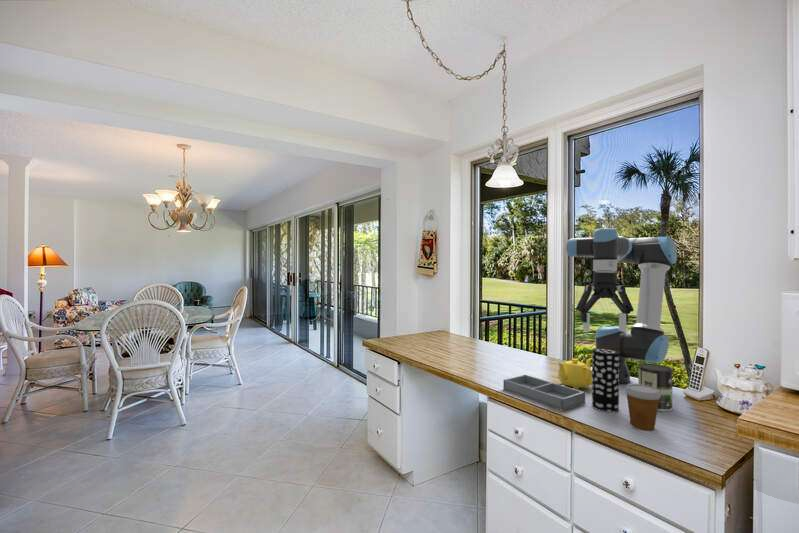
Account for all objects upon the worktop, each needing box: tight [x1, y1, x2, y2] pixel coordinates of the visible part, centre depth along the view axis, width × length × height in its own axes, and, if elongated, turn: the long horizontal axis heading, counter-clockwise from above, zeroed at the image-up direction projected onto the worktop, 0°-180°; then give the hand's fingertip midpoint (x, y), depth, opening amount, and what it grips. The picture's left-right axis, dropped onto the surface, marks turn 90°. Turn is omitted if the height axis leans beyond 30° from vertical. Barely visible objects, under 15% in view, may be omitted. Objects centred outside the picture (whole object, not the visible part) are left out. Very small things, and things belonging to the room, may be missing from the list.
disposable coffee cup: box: [624, 383, 661, 431], centre depth 118 cm, size 10×10×12 cm
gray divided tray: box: [503, 374, 586, 411], centre depth 145 cm, size 26×14×4 cm, turn 34°
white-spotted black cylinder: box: [591, 348, 620, 413], centre depth 134 cm, size 8×8×20 cm
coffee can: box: [637, 363, 674, 412], centre depth 135 cm, size 10×10×14 cm
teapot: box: [557, 357, 592, 391], centre depth 156 cm, size 20×15×12 cm
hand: (604, 331), depth 134 cm, fingers open, 13 cm apart
